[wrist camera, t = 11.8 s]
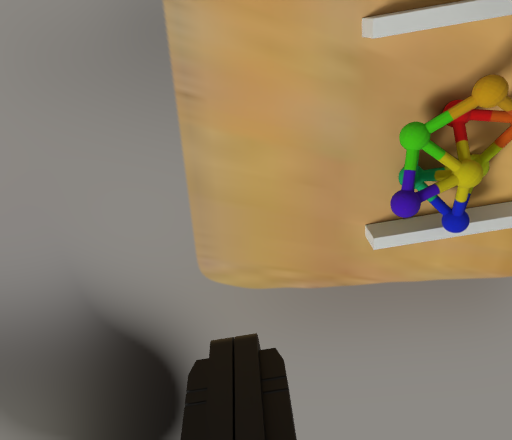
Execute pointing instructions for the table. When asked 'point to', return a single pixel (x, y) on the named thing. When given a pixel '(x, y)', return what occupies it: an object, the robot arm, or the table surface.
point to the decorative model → (456, 172)
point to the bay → (430, 226)
